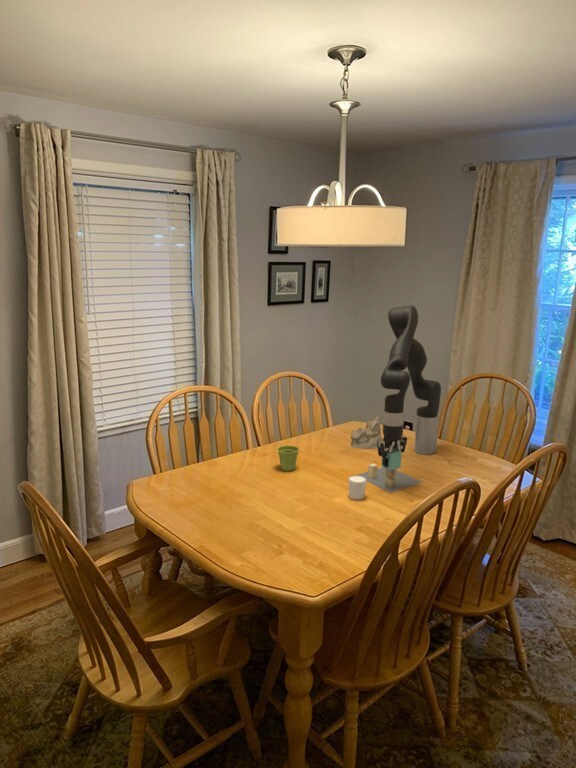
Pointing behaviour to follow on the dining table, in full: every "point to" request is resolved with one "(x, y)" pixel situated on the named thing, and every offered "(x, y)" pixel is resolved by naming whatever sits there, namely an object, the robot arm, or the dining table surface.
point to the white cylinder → (357, 487)
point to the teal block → (393, 460)
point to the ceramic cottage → (367, 435)
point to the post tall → (390, 478)
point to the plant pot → (288, 457)
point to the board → (379, 479)
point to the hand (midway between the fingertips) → (391, 464)
